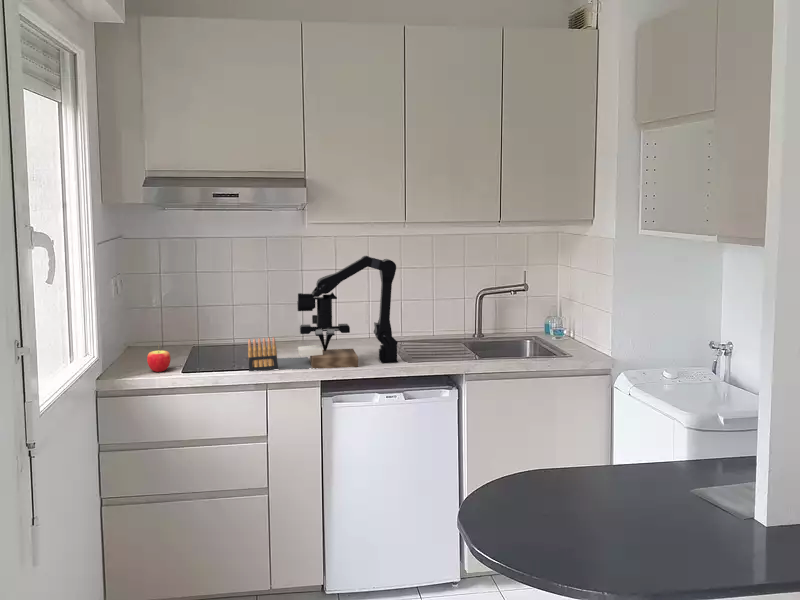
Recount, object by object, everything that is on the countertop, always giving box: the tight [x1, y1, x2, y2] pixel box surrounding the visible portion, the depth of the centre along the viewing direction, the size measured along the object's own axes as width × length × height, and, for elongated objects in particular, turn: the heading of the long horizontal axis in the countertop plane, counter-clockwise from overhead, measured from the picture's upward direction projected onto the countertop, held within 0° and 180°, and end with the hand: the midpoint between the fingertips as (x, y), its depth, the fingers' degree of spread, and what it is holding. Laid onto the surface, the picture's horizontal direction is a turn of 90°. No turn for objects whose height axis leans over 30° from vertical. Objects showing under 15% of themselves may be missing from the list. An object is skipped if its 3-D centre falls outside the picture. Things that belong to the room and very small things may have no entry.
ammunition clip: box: [247, 336, 278, 372], centre depth 302 cm, size 11×2×12 cm, turn 99°
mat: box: [277, 356, 312, 370], centre depth 313 cm, size 14×20×1 cm
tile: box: [297, 344, 323, 358], centre depth 312 cm, size 9×7×2 cm
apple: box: [146, 344, 171, 373], centre depth 301 cm, size 8×8×10 cm
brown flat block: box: [309, 348, 359, 369], centre depth 314 cm, size 17×16×4 cm
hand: (324, 351), depth 313 cm, fingers closed
